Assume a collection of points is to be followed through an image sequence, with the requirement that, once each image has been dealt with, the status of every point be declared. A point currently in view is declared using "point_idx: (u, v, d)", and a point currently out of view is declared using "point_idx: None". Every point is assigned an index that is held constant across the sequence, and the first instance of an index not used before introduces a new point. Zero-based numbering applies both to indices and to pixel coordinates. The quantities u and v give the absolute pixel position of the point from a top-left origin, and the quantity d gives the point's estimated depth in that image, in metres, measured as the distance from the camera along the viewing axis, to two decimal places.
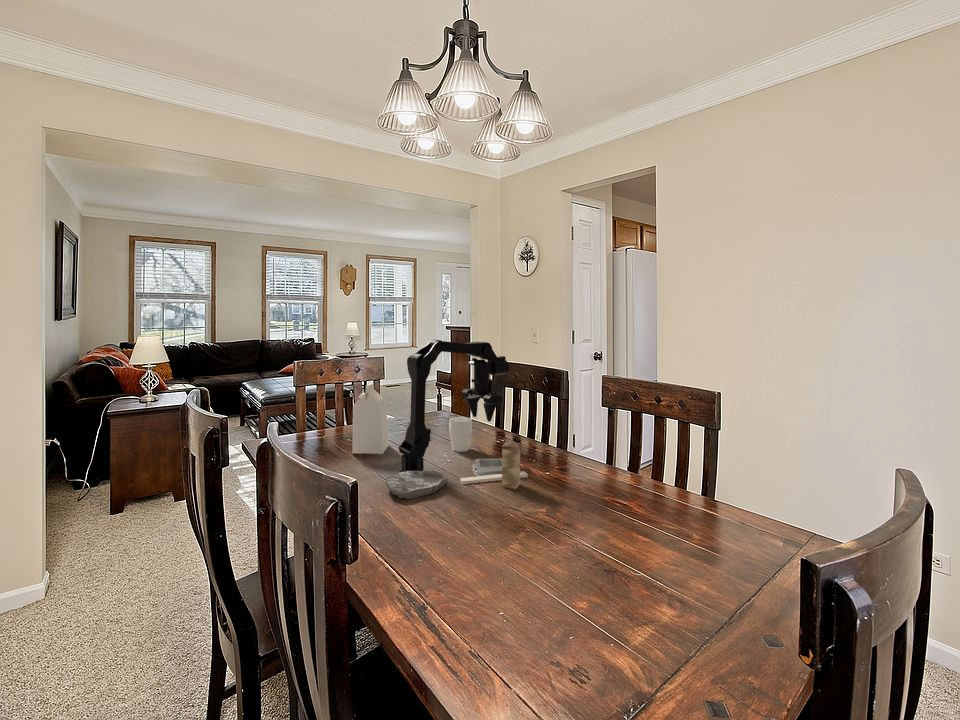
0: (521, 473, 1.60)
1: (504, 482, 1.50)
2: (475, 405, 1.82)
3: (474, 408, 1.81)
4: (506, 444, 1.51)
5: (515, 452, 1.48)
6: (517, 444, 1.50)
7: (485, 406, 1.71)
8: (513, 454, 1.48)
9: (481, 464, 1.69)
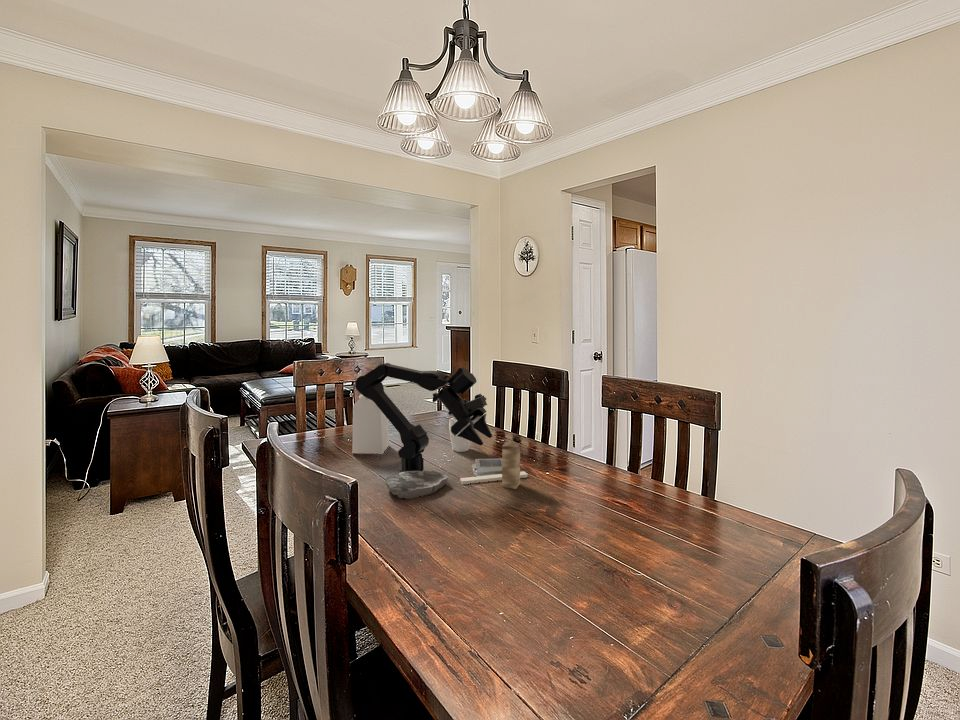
0: (521, 473, 1.60)
1: (504, 482, 1.50)
2: (483, 426, 1.59)
3: (484, 430, 1.59)
4: (506, 444, 1.51)
5: (515, 452, 1.48)
6: (517, 444, 1.50)
7: None
8: (513, 454, 1.48)
9: (481, 464, 1.69)
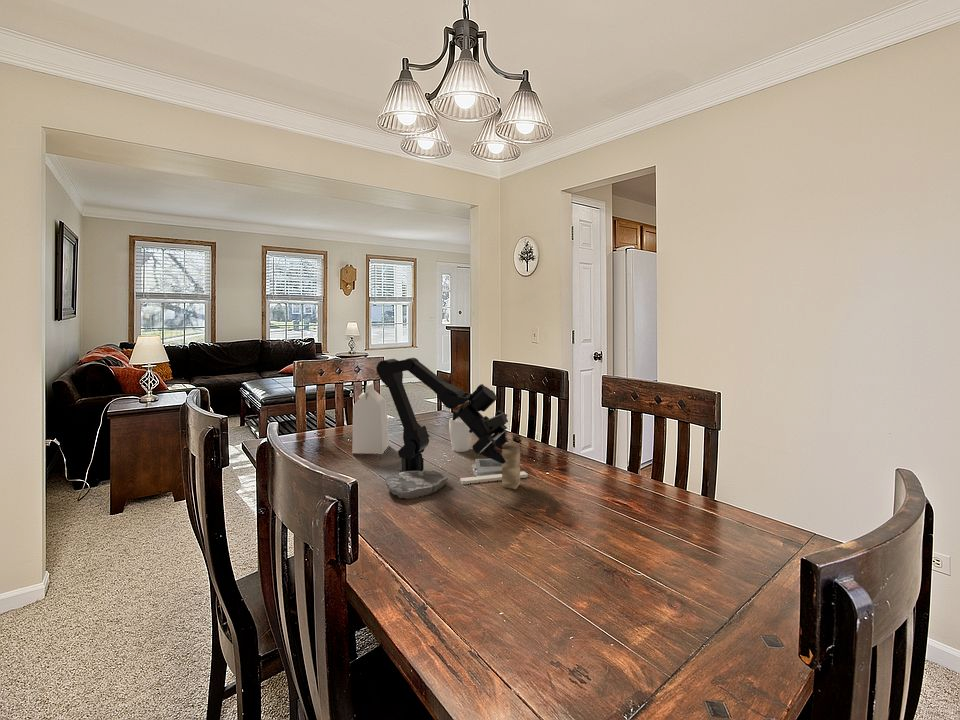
0: (521, 473, 1.60)
1: (504, 482, 1.50)
2: (504, 443, 1.56)
3: None
4: (506, 444, 1.51)
5: (515, 452, 1.48)
6: (517, 444, 1.50)
7: None
8: (513, 454, 1.48)
9: (481, 464, 1.69)
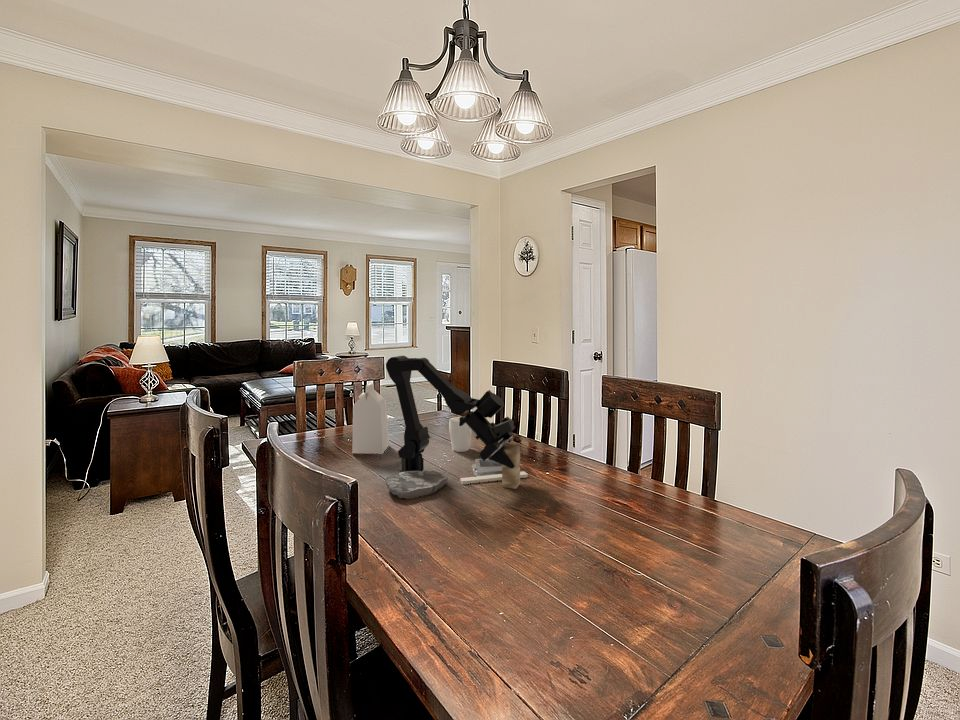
0: (521, 473, 1.60)
1: (504, 482, 1.50)
2: None
3: None
4: (506, 444, 1.51)
5: (515, 452, 1.48)
6: (517, 444, 1.50)
7: None
8: (513, 454, 1.48)
9: (481, 464, 1.69)
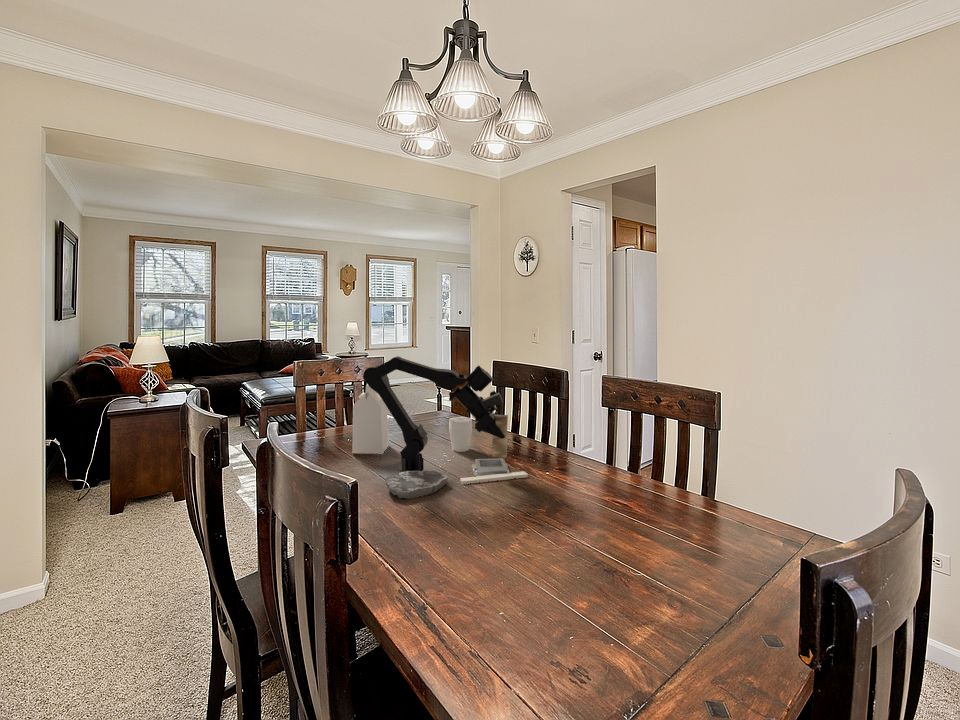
0: (521, 473, 1.60)
1: (495, 452, 1.58)
2: None
3: None
4: None
5: (506, 423, 1.57)
6: (506, 416, 1.59)
7: None
8: (503, 425, 1.57)
9: (481, 464, 1.69)
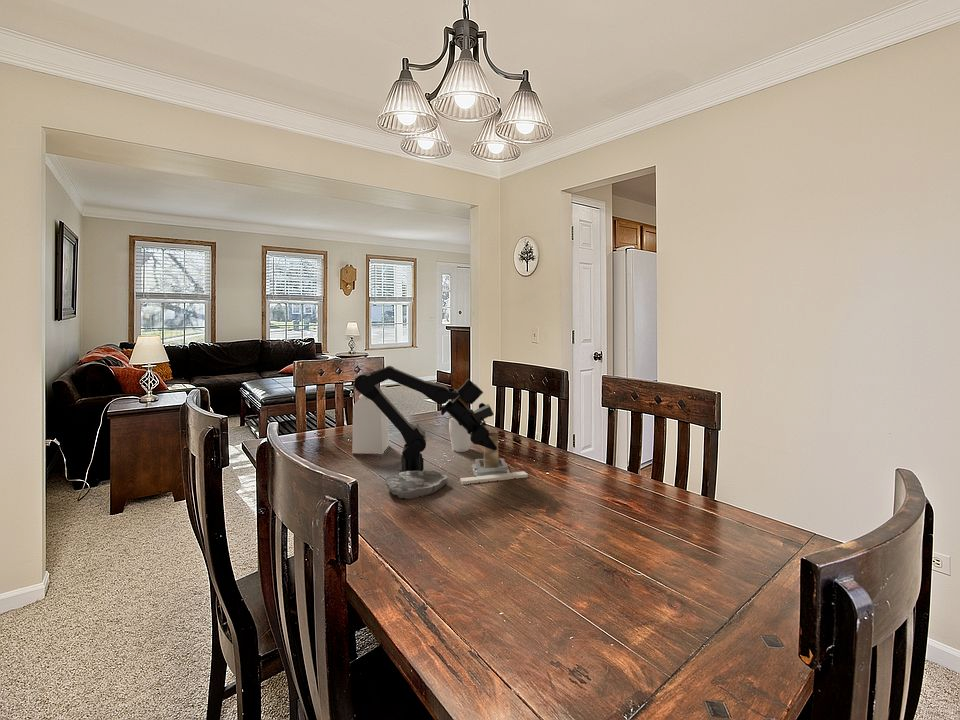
0: (521, 473, 1.60)
1: (487, 466, 1.63)
2: None
3: None
4: None
5: (497, 437, 1.63)
6: (496, 430, 1.65)
7: None
8: (495, 439, 1.63)
9: (481, 464, 1.69)
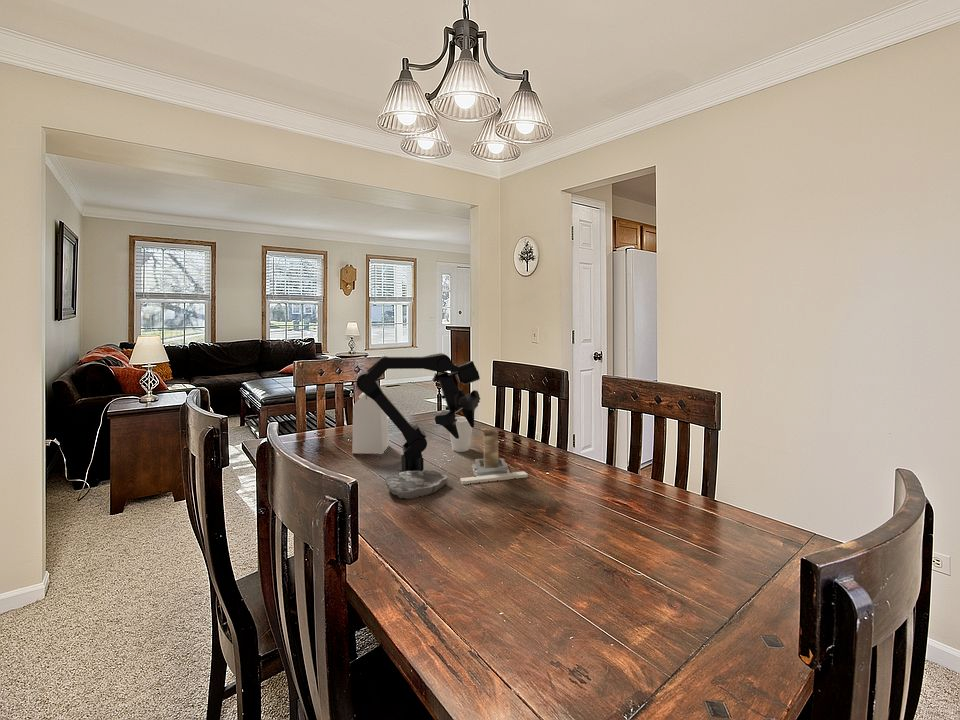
0: (521, 473, 1.60)
1: (487, 466, 1.63)
2: (470, 415, 1.69)
3: (469, 418, 1.69)
4: (486, 431, 1.64)
5: (497, 437, 1.63)
6: (496, 430, 1.65)
7: None
8: (495, 439, 1.63)
9: (481, 464, 1.69)
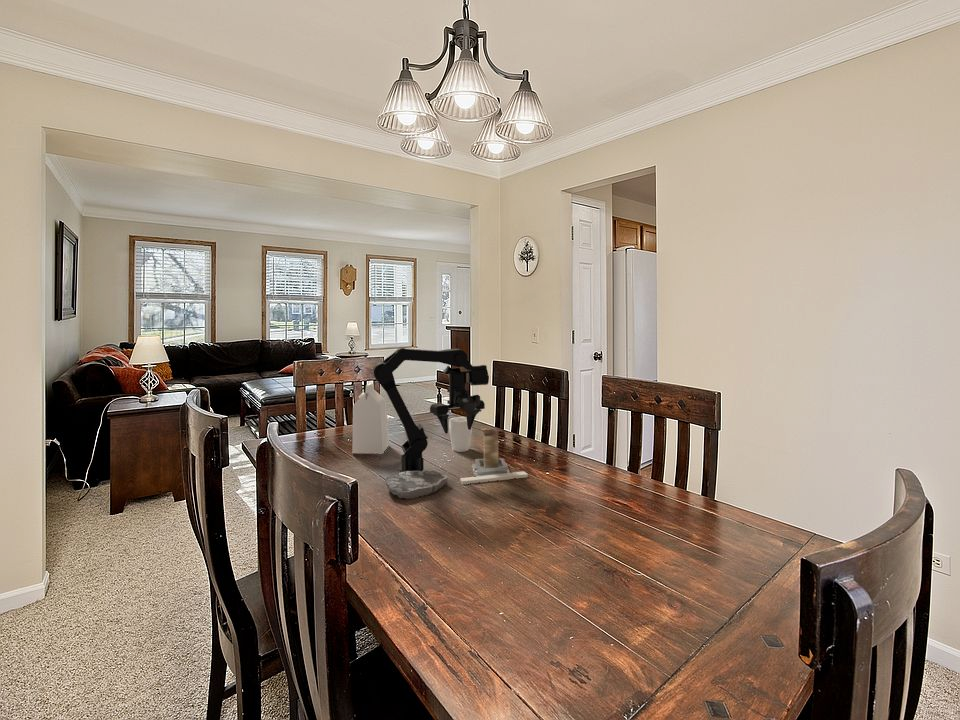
0: (521, 473, 1.60)
1: (487, 466, 1.63)
2: (470, 417, 1.69)
3: (469, 420, 1.69)
4: (486, 431, 1.64)
5: (497, 437, 1.63)
6: (496, 430, 1.65)
7: None
8: (495, 439, 1.63)
9: (481, 464, 1.69)
